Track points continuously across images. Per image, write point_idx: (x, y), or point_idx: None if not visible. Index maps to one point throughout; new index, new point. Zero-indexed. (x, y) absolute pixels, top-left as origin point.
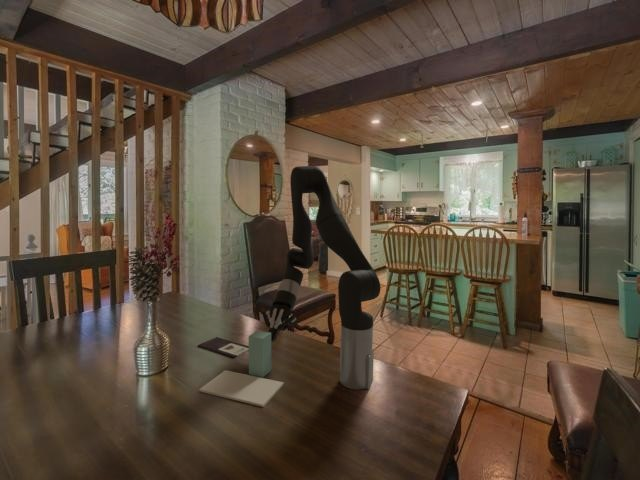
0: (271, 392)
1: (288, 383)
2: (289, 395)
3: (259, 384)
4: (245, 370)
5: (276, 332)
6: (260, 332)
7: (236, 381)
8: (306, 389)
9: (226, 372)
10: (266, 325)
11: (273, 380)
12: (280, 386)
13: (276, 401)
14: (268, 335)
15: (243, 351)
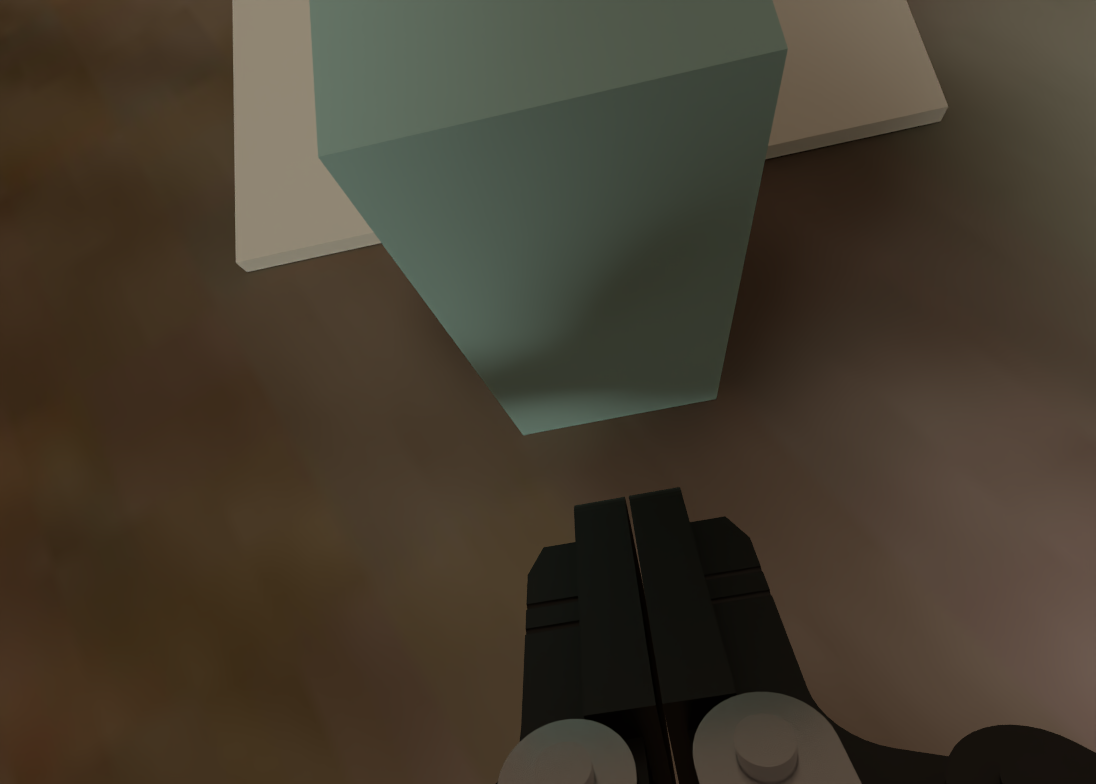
0: (257, 92)
1: (215, 311)
2: (131, 175)
3: None
4: (774, 265)
5: (527, 691)
6: (595, 11)
7: None
8: (31, 319)
9: (886, 84)
10: (1008, 725)
11: (343, 238)
12: (236, 203)
13: (190, 68)
14: (321, 46)
15: None
